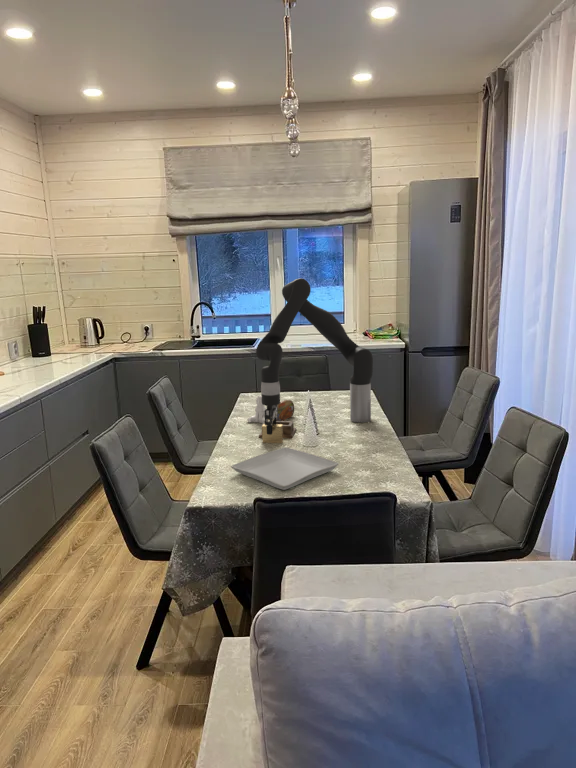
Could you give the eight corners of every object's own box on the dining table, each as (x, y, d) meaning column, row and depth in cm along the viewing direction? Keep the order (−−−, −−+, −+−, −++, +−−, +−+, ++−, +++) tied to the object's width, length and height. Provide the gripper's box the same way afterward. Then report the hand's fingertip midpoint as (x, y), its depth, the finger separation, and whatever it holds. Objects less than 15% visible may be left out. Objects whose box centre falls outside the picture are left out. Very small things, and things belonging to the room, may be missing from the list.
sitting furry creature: (246, 422, 258) (245, 397, 255) (255, 417, 265) (254, 393, 263) (265, 424, 254) (263, 398, 251) (273, 419, 262) (272, 394, 259)
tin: (275, 423, 255) (274, 405, 253) (270, 422, 257) (269, 404, 255) (295, 415, 267) (294, 398, 265) (289, 414, 269) (289, 397, 267)
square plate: (229, 475, 194) (229, 464, 194) (286, 455, 213) (285, 445, 212) (284, 496, 175) (283, 484, 175) (340, 472, 194) (340, 461, 193)
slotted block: (296, 429, 244) (296, 419, 243) (291, 438, 232) (291, 427, 231) (264, 429, 246) (264, 419, 245) (259, 437, 235) (258, 427, 234)
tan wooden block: (283, 440, 230) (282, 424, 228) (282, 443, 227) (281, 426, 225) (264, 440, 231) (263, 424, 229) (262, 442, 228) (261, 426, 227)
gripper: (276, 396, 217) (277, 436, 220) (283, 388, 231) (284, 426, 234) (257, 396, 218) (258, 436, 222) (265, 388, 232) (266, 426, 235)
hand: (271, 431), depth 228 cm, fingers open, 8 cm apart
